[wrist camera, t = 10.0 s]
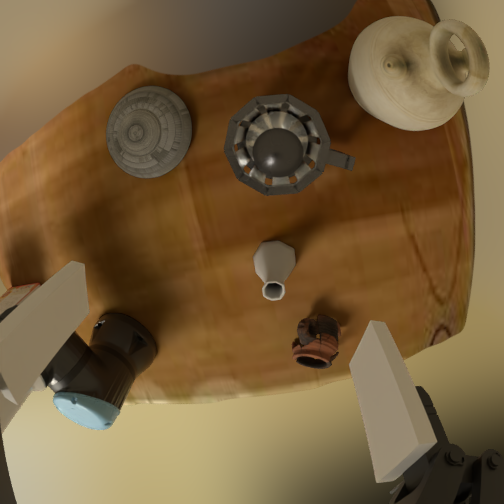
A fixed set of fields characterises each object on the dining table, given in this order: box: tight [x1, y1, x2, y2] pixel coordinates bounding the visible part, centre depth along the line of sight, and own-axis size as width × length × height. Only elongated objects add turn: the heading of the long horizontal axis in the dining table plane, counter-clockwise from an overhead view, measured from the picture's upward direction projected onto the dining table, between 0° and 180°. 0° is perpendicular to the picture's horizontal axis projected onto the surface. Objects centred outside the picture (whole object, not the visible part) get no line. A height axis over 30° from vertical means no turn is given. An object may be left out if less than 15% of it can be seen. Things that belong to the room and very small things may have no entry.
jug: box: [348, 16, 489, 131], centre depth 25 cm, size 15×16×25 cm
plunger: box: [246, 111, 308, 178], centre depth 30 cm, size 8×8×21 cm
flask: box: [253, 241, 296, 300], centre depth 45 cm, size 7×7×10 cm
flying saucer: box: [106, 86, 192, 178], centre depth 41 cm, size 15×15×6 cm
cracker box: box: [0, 283, 41, 315], centre depth 49 cm, size 14×6×21 cm, turn 101°
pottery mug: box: [292, 315, 341, 369], centre depth 53 cm, size 12×10×8 cm
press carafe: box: [224, 94, 355, 196], centre depth 36 cm, size 15×12×13 cm
